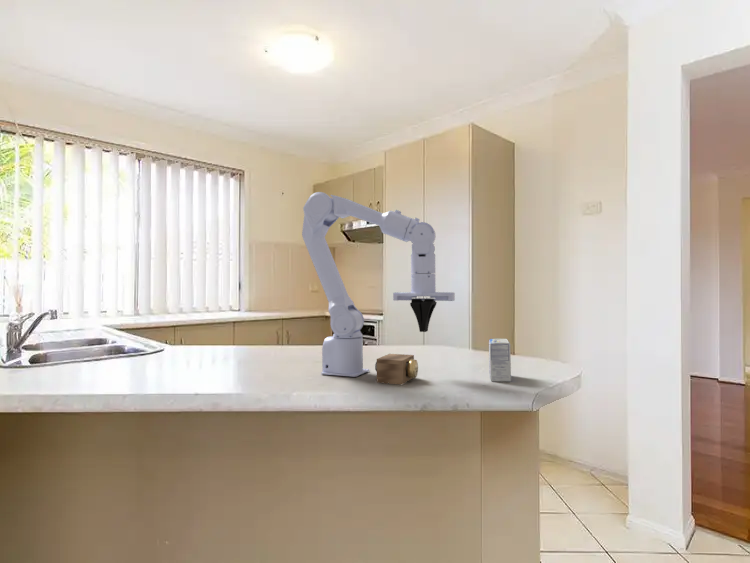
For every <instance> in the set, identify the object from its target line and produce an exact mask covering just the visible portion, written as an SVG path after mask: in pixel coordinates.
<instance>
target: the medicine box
mask: <svg viewBox="0 0 750 563" xmlns="http://www.w3.org/2000/svg"><path fill="white" fill-rule="evenodd" d="M488 352H489V353H488V356H489V357H488V360H489V378H490V381H491V382H498V383H501V382H502V383H511V382H512V367H511V366H512V365H511V364H512V363H511V359H512V358H511V343H510V341H509V340H508V339H507V338H490V339H489V340H488Z"/></svg>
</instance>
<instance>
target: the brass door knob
mask: <svg viewBox="0 0 750 563" xmlns="http://www.w3.org/2000/svg"><path fill="white" fill-rule="evenodd" d="M418 363H419V362H418V360H417V359H414V360H409V362H408V363H406V374H408V377H409V378H412V379H416V378H417V377H418V372H419V364H418ZM374 366H375V367H374V370H375V372H376V373H377V361H376V362H375V364H374Z"/></svg>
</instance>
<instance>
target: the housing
mask: <svg viewBox="0 0 750 563" xmlns="http://www.w3.org/2000/svg"><path fill="white" fill-rule="evenodd" d="M409 360H415V354H405V353H404V354H399V353H388V354H385V355H384V356H381V357H378V358H376V362H377V372H376V383H377V384H388V383H389V385H399V386H400V385H402V386H403V385H404V384H406V383H408V382H410V381H411V380H413V378H409V377H408V374H406V363H408V362H409ZM407 381H408V382H407Z"/></svg>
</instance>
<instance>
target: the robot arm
mask: <svg viewBox="0 0 750 563" xmlns="http://www.w3.org/2000/svg"><path fill="white" fill-rule="evenodd" d="M302 209H303V214H304V215H303V223H302V231H301V235H302V240H303V243H304V244H305V247H306V249H307V252H308V254H309V256H310V257H309V258H310V259H311V262H312V263H313V266H314V269H315V272H316V274H317V277H318V279H319V281H320V285H321V286H322V289H323V291H324V294H325V296H326V299H327V301H328V313H329V315H330V316H329V317H330V328H331V331H332V333H333V334H332V336H331V335H330V336H327V337H326V338H324V340H323V343H322V347H321V348H322V349H321V351H322V352H321V353H322V356H321V358H322V359H321V360H322V366H321V367H322V371H321V372H320V374H321V375H330V376H341V377H354V378H356V377H359V376H361V375H363V374H366V373H369V372H370V369H369V368H364V361H363V360H364V357H363V356H364V353H363V352H364V351H363V350H364V348H363V347H364V345H363V340H364V339H363V336H364V334H363V333H362V331H361V330H362V328H363V326H364V324H365V317H364V315H363V313H362V312H361V311H360V310H359V309H358V308H357V307H356V306H355V303H354V301H353V299H352V298H351V297H350V295H349V294H348V291H347V289H346V287H345V284H344V281H343V280H342V277H341V276H342V275H341V274H340V272H339V269H338V267H337V265H336V262H335V260H334V257H333V255H332V253H331V249H330V247H329V244H328V242H327V240H326V235H327V233H328V232H329V229H330V227H332V226H333V224H334V223H335V222H337V221H338V219H339V218H340V219H346V218H349V217H353V218H356V219H359V220H362V221H364V222H367V223H370V224H373V225H376V226H379V229H380V231H381V234H384V235H387V236H389V237H391V238H394V239H398V240H400V241H403V242H406V243H407V242H411V243H412V244H411V255H410V283H411V284H410V287H411V288H410V291H408V292H407V291H405V292H404V291H403V292H401V291H400V292H399V291H398V292H392V294H393V296H392V297H393V298H392V299H393V301H394V302H395V301H397V302H398V301H411V302H409V305H410V307H411V309H412V311H413V313H414V316H415V318H416V322H417V325H418V329H419V332H420V333H422V332H423V333H427V332H429V326H430V321H431V318H432V315H433V312H434V310H435V308H436V306H437V302H438V301H439V302H440V301H442V302H444V301H445V302H447V301H448V302H455V299H456V298H455V296H456V295H455V294H456V293H455V292H454V291H453V292H452V291H451V292H448V291H447V292H444V291H443V292H439V291H438V292H437V291H436V290H437V288H436V287H437V286H436V254H435V250H436V248H435V243H434V242H435V240H436V232H435V229H434V228H433V226H432V225H431V224H430V223H428V222H424V221H423V222H422V221H420V218H418V217H415V218H413V217H410V216H407V215H404V214H402V211H401V210H398V209H395V210H394V211H393V210H388V211H387V212H381V211H377V210H376V209H373V208H371V207H368V206H365V205H363V204H361V203H358V202H355V201H354V200H350V199H349V198H346V197H345V198H344V197H341V196H339V195H334V194H330V195H329V194H327V193H326V192H323V191H317V192H314V193H312V194H311V195H310V196H309V197H308V198H307V200H306V202H305V204H304V206H303V207H302ZM417 297H418V298H417ZM419 297H420V298H419ZM421 297H423V298H421ZM424 297H425V298H424ZM426 297H429V298H426Z"/></svg>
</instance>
